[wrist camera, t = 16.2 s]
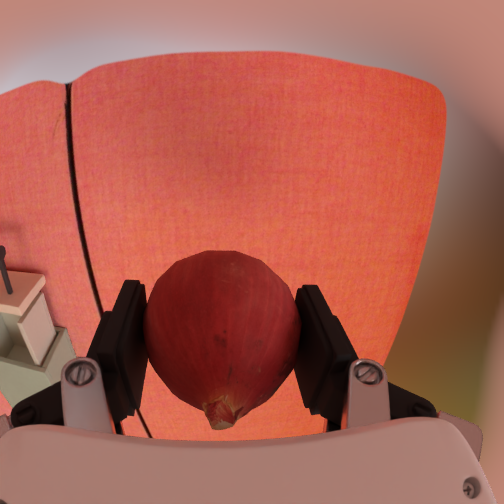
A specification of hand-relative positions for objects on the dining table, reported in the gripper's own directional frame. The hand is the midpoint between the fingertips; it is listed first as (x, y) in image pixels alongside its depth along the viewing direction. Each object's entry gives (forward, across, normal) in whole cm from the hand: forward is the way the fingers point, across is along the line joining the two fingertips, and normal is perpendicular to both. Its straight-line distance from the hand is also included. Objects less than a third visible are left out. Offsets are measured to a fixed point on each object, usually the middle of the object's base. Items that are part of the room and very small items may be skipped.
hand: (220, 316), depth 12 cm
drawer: (+18, +27, +14) cm, 35 cm away
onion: (+3, 0, 0) cm, 3 cm away
